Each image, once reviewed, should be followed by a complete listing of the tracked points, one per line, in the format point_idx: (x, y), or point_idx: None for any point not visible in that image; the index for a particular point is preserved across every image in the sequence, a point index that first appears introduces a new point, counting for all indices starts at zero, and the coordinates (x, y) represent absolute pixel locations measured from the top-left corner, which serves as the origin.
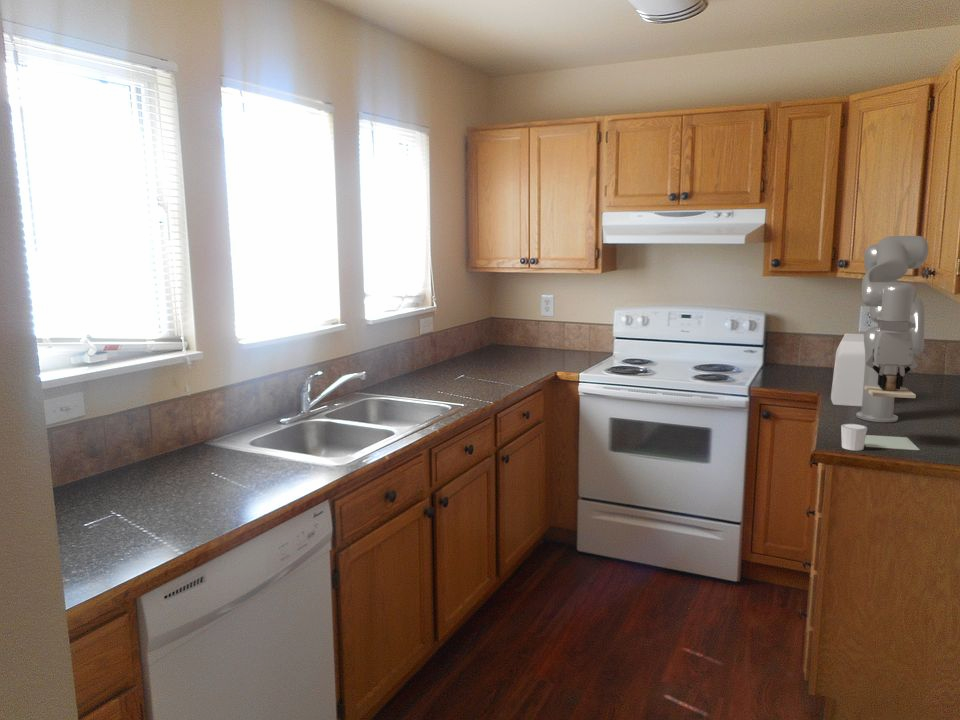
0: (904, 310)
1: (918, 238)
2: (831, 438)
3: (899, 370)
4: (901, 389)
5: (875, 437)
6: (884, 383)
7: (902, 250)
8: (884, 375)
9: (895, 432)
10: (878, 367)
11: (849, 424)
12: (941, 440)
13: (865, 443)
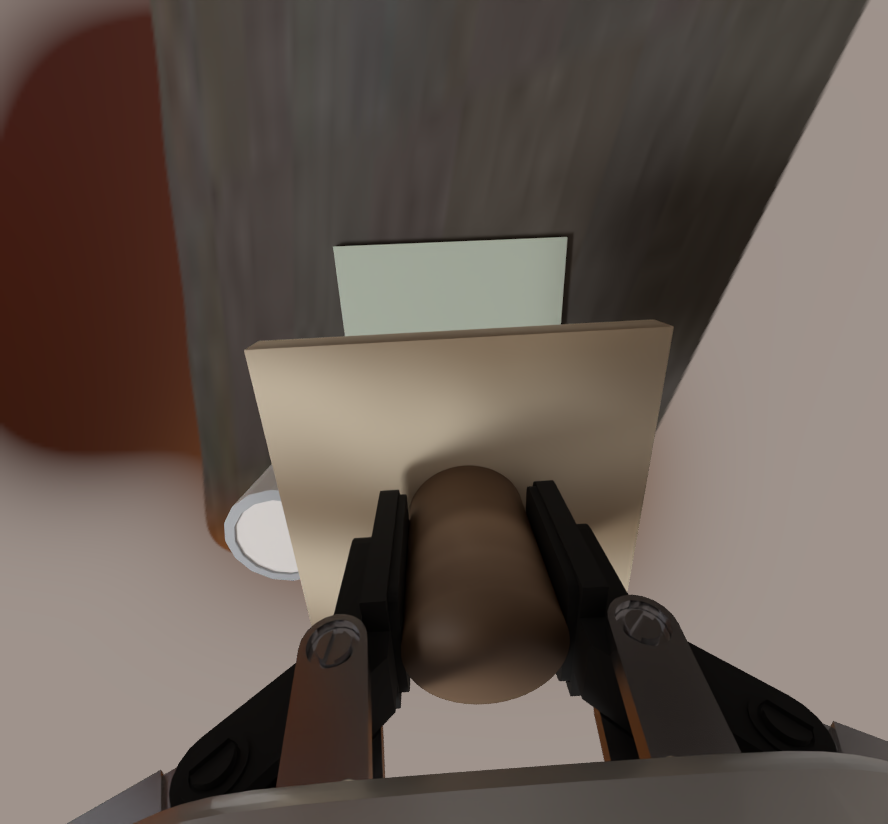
0: None
1: None
2: (223, 330)
3: (639, 680)
4: (587, 456)
5: (416, 284)
6: None
7: None
8: (398, 697)
9: (550, 82)
10: (292, 751)
11: (260, 505)
12: (720, 215)
13: None
